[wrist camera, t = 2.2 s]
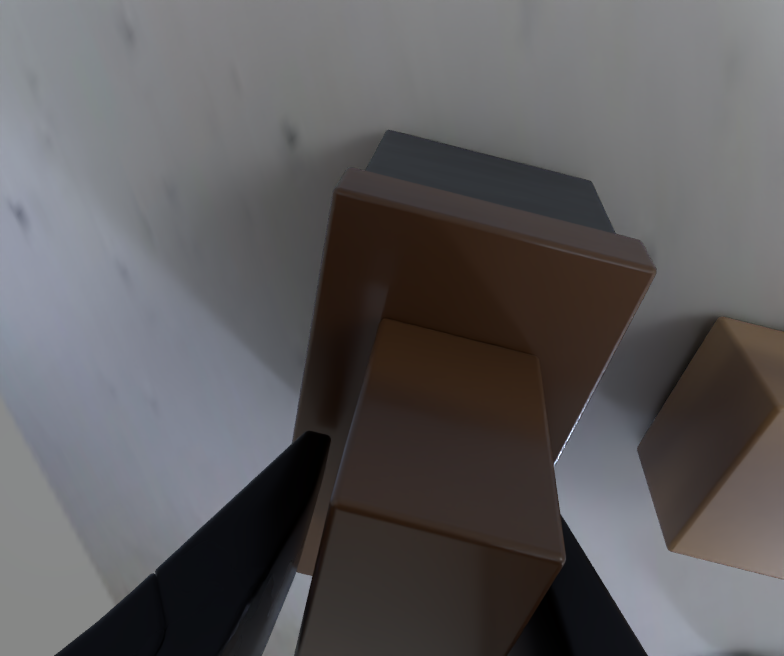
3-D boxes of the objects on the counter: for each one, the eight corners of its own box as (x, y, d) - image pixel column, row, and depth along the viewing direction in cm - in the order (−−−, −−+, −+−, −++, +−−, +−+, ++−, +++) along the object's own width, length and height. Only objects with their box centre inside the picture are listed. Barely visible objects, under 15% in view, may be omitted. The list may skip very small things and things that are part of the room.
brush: (477, 475, 16) (474, 826, 9) (316, 435, 16) (204, 760, 9) (607, 172, 11) (768, 466, 5) (378, 114, 11) (239, 334, 5)
